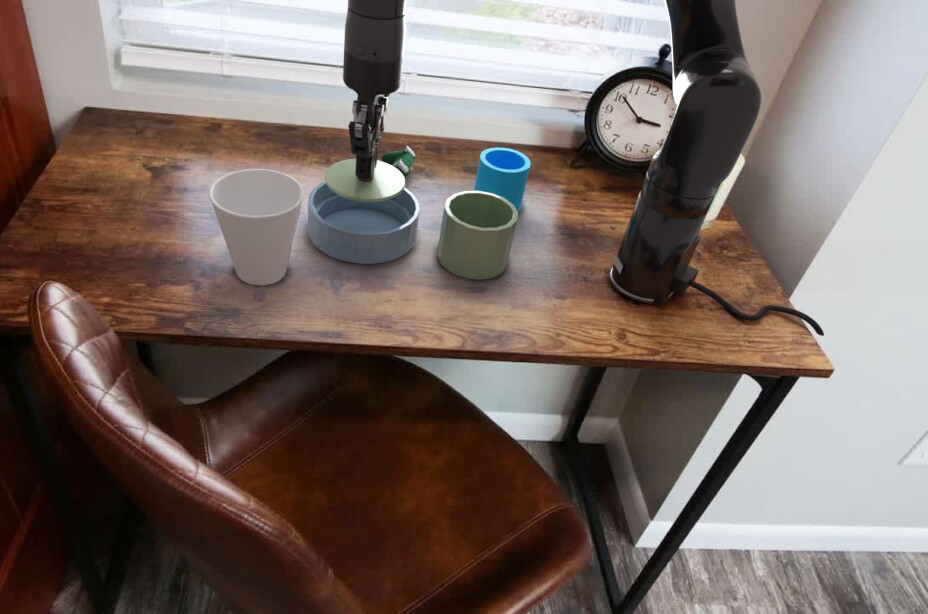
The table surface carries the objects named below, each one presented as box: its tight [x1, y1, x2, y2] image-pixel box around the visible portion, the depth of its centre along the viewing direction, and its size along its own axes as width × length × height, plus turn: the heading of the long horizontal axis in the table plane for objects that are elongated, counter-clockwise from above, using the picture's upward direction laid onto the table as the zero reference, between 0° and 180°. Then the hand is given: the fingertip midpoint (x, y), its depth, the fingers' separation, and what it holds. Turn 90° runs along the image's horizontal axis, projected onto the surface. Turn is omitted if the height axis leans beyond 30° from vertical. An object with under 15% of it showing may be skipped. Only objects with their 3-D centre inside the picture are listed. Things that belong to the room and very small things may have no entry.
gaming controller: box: [381, 145, 416, 178], centre depth 119 cm, size 9×4×6 cm
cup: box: [208, 168, 305, 286], centre depth 93 cm, size 12×12×12 cm
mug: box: [473, 147, 531, 213], centre depth 116 cm, size 12×8×8 cm
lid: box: [324, 145, 406, 202], centre depth 99 cm, size 11×11×6 cm
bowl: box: [307, 181, 421, 265], centre depth 104 cm, size 16×16×6 cm
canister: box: [436, 190, 519, 281], centre depth 102 cm, size 10×10×8 cm
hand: (366, 171), depth 99 cm, fingers closed on lid, 2 cm apart
